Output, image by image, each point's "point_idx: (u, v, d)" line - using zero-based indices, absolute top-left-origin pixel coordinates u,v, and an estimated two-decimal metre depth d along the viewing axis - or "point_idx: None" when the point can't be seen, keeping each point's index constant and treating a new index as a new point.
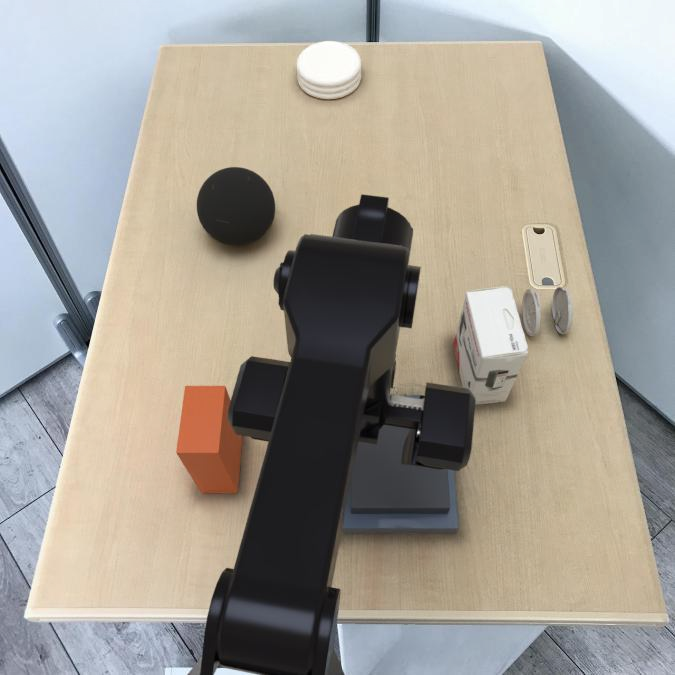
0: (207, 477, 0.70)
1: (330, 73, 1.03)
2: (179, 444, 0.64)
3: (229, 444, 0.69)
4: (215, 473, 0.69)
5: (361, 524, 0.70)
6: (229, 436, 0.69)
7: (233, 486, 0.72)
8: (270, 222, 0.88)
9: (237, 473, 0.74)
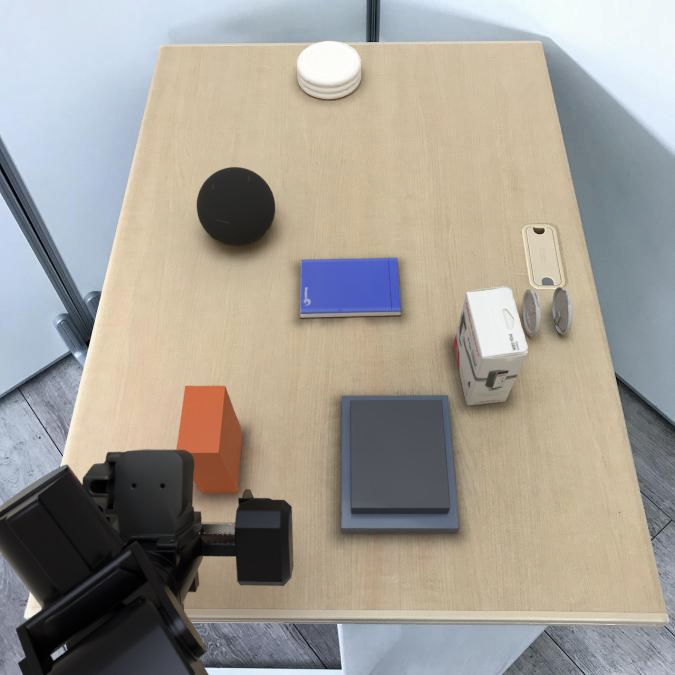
0: (207, 477, 0.70)
1: (330, 73, 1.03)
2: (179, 444, 0.64)
3: (229, 444, 0.69)
4: (215, 473, 0.69)
5: (361, 524, 0.70)
6: (229, 436, 0.69)
7: (233, 486, 0.72)
8: (270, 222, 0.88)
9: (237, 473, 0.74)
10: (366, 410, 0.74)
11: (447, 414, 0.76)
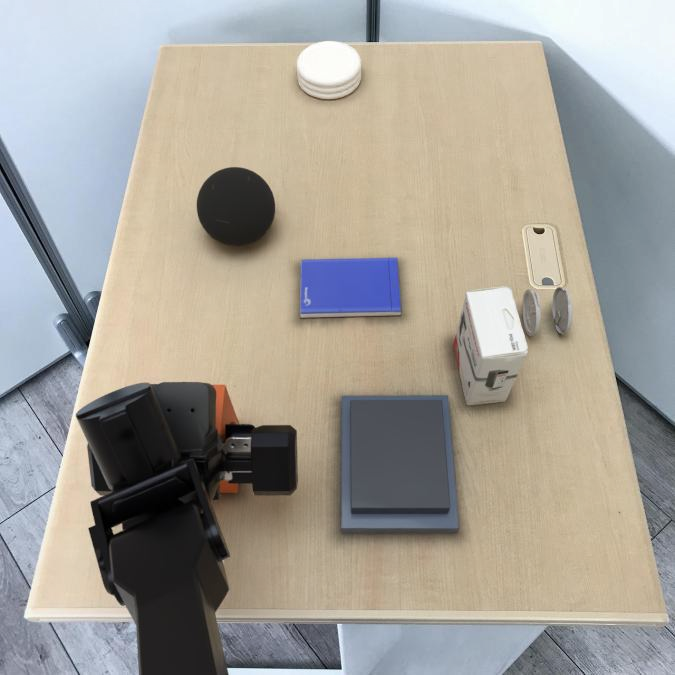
0: None
1: (330, 73, 1.03)
2: None
3: None
4: None
5: (361, 524, 0.70)
6: None
7: (233, 485, 0.72)
8: (270, 222, 0.88)
9: None
10: (366, 410, 0.74)
11: (447, 414, 0.76)
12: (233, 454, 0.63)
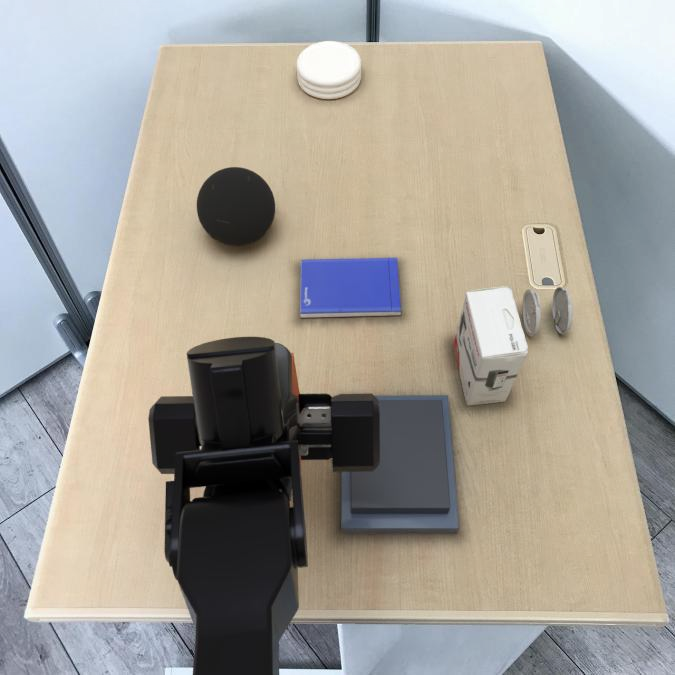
0: None
1: (330, 73, 1.03)
2: None
3: None
4: None
5: (361, 524, 0.70)
6: None
7: None
8: (270, 222, 0.88)
9: None
10: None
11: (447, 414, 0.76)
12: (309, 426, 0.57)
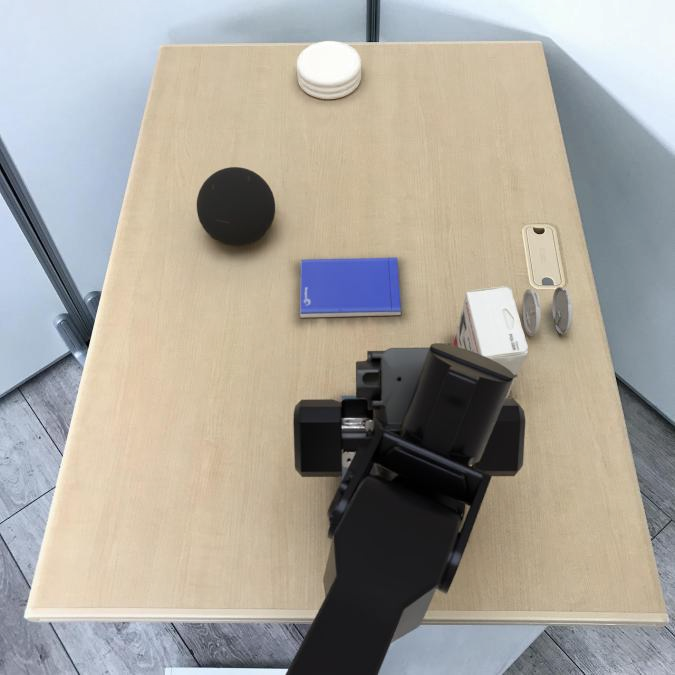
0: None
1: (330, 73, 1.03)
2: None
3: None
4: None
5: None
6: None
7: None
8: (270, 222, 0.88)
9: None
10: None
11: None
12: None
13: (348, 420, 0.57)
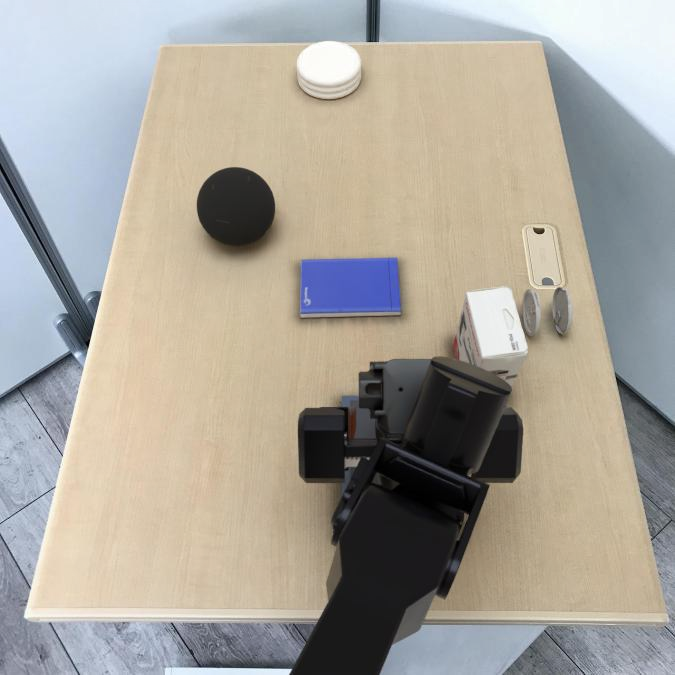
0: None
1: (330, 73, 1.03)
2: None
3: None
4: None
5: None
6: None
7: None
8: (270, 222, 0.88)
9: None
10: (366, 410, 0.74)
11: None
12: None
13: None
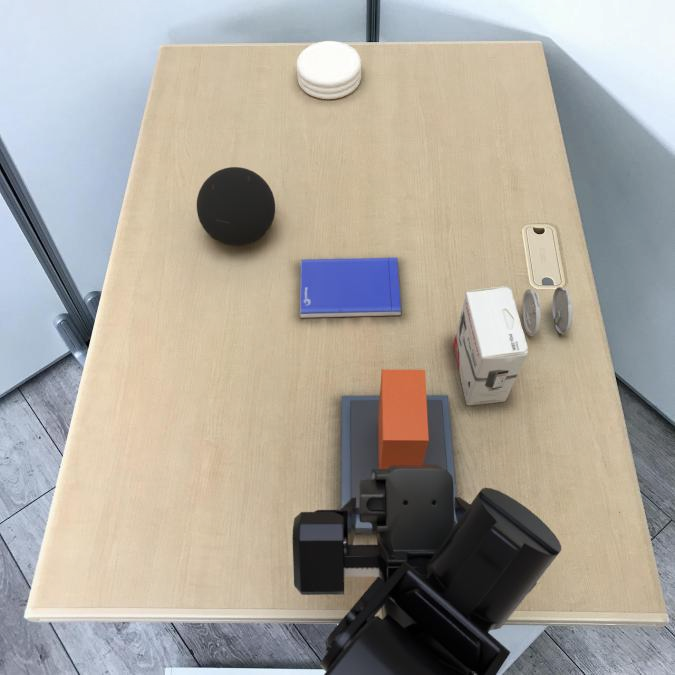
0: None
1: (330, 73, 1.03)
2: (385, 431, 0.60)
3: None
4: (409, 463, 0.65)
5: (361, 524, 0.70)
6: None
7: None
8: (270, 222, 0.88)
9: None
10: (366, 410, 0.74)
11: (447, 414, 0.76)
12: None
13: None
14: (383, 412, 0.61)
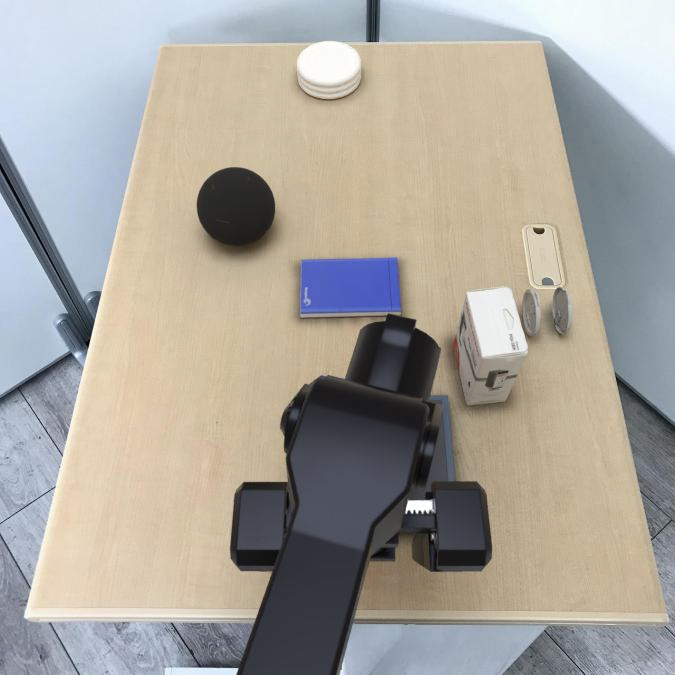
0: None
1: (330, 73, 1.03)
2: None
3: None
4: None
5: None
6: None
7: None
8: (270, 222, 0.88)
9: None
10: None
11: (447, 414, 0.76)
12: None
13: None
14: None
